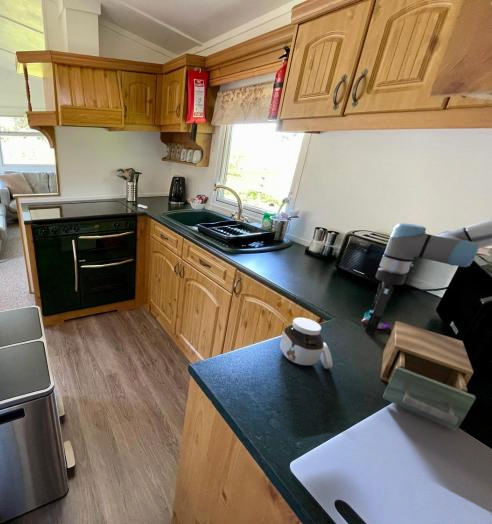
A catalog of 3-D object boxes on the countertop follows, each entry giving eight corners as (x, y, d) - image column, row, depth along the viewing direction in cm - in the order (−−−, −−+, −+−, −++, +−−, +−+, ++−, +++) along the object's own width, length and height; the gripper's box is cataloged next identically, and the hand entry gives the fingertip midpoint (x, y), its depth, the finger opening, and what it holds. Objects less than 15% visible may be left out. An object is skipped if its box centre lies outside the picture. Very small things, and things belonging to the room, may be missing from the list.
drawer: (461, 451, 57) (482, 417, 54) (381, 414, 64) (395, 382, 61) (448, 391, 73) (464, 362, 70) (385, 366, 80) (397, 340, 77)
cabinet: (453, 408, 68) (473, 372, 65) (380, 379, 77) (395, 345, 73) (445, 373, 81) (462, 341, 77) (383, 351, 89) (396, 320, 85)
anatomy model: (380, 321, 97) (394, 316, 99) (357, 310, 104) (370, 306, 106) (377, 334, 99) (390, 329, 101) (354, 322, 106) (366, 318, 108)
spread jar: (273, 349, 86) (282, 315, 82) (305, 345, 89) (315, 312, 85) (303, 377, 75) (315, 340, 71) (338, 372, 78) (351, 336, 74)
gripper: (408, 284, 85) (382, 344, 92) (407, 264, 103) (385, 316, 110) (376, 276, 89) (354, 334, 97) (380, 259, 107) (362, 309, 115)
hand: (371, 324), depth 103 cm, fingers open, 13 cm apart
